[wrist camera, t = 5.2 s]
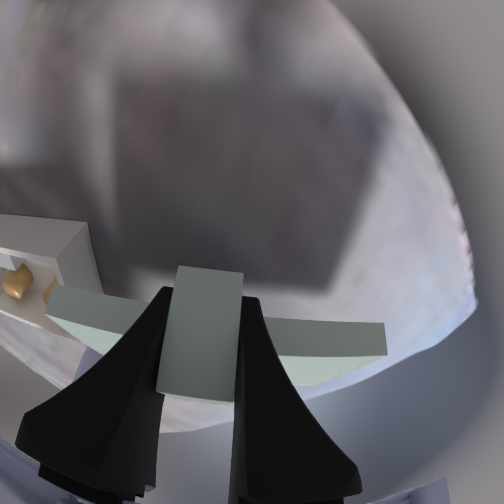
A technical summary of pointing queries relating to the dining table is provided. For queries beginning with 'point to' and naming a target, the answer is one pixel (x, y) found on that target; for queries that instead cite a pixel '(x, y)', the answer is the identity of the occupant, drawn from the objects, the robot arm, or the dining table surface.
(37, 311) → the tub
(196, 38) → the dining table surface
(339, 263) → the dining table surface
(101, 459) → the robot arm
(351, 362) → the lid
